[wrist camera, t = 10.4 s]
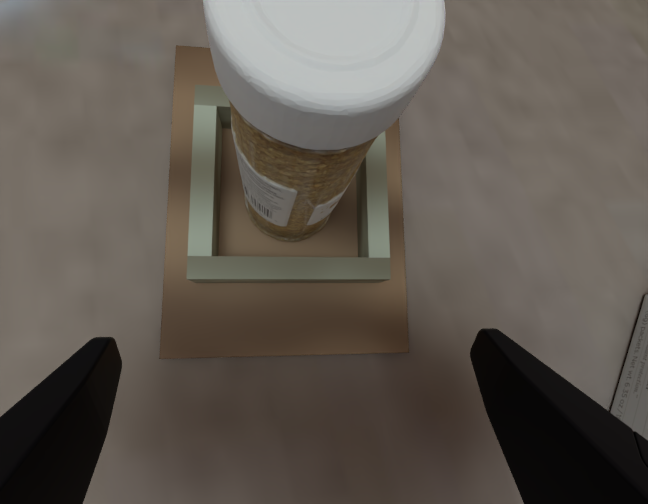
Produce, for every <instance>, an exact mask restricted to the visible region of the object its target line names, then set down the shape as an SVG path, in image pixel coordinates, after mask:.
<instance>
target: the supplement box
mask: <svg viewBox="0 0 648 504" xmlns="http://www.w3.org/2000/svg"><path fill="white" fill-rule="evenodd" d="M610 413H611V414H613V415H614V416H615V417H617V418H618V419H620V420H621V421H622V422H624V423H625V424H626V425H628V426H629V427H630V428H632V430H633V431H636V432H637V433H639V434H640V435H641V436H643V437H644V438H645V439H647V440H648V294H646V295H645V297H644V300H643V304H642V308H641V311H640V314H639V317H638V320H637V324H636V327H635V330H634V334H633V337H632V341H631V344H630V347H629V351H628V354H627V358H626V361H625V364H624V367H623V371H622V374H621V377H620V381H619V384H618V388H617V391H616V394H615V398H614V401H613V405H612V408H611V411H610Z"/></svg>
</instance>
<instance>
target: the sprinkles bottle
mask: <svg viewBox="0 0 648 504" xmlns="http://www.w3.org/2000/svg"><path fill="white" fill-rule="evenodd" d="M203 5H204V14H205V21H206V28H207V33H208V39H209V44H210V50H211V54H212V59H213V63H214V68H215V72H216V74H217V77H218V80H219V82H220V84H221V86H222V88H223V90H224V92H225V94H226V96H227V97H228V99H229V103H230V108H231V128H232V134H233V139H234V144H235V149H236V154H237V159H238V164H239V169H240V174H241V179H242V184H243V189H244V192H245V193H244V199H245V205H246V210H247V212H248V214H249V217H250V219H251V221H252V222H253V223H254V225H255V226H256V227H257V228H258V229H259V230H260V231H262V232H263V233H264V234H266V235H268V236H270V237H272V238H274V239H276V240H282V241H289V242H296V241H300V240H304V239H306V238H309V237H311V236H312V235H314V234H316V233H317V232H318V231H320V230H321V229H322V228H323V227H324V226H325V224H326V222H327V221H328V219H329V218H330V215H331V213H332V210H333V209H334V208H335V206H336V205H337V203H338V202H339V200H340V199H341V197H342V195H343V194H344V192H345V190H346V189H347V187H348V185H349V184H350V182H351V180H352V179H353V177H354V176H355V174H356V172H357V171H358V169H359V167H360V165H361V163H362V161H363V158H364V157H365V156H366V154H367V152H368V150H369V149H370V147H371V145H372V144H373V142H374V141H375V139H376V138H377V137H378V135H380V134H381V133H383V132H384V131H385V130H386V129H388V128H389V127H390V126H391V125H392V124H393V123H394V122H395V121H396V120H397V119H398V118H399V117H400V115H401V114H402V113H403V111H404V110H405V109H406V107H407V106H408V104H409V103H410V101H411V100H412V98H413V97H414V95H415V94H416V92H417V91H418V89H419V87H420V86H421V84H422V82H423V81H424V79H425V78H426V76H427V74H428V73H429V71H430V69H431V68H432V66H433V64H434V62H435V60H436V58H437V55H438V53H439V50H440V47H441V43H442V40H443V35H444V27H445V3H444V0H203Z"/></svg>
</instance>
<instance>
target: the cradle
mask: <svg viewBox="0 0 648 504" xmlns="http://www.w3.org/2000/svg"><path fill="white" fill-rule="evenodd" d="M244 193H245V192H244V189H243V184H242V179H241V174H240V169H239V164H238V159H237V154H236V149H235V144H234V139H233V134H232V128H231V108H230V103H229V99H228V97H227V96H226V94H225V92H224V90H223V88H222V86H221V84H220V82H219V80H218V77H217V74H216V72H215V68H214V63H213V59H212V54H211V50H210V48H202V47H190V46H177V45H176V56H175V75H174V94H173V113H172V132H171V151H170V170H169V189H168V207H167V226H166V245H165V264H164V283H163V302H162V321H161V340H160V358H159V359H175V358H214V357H253V356H292V355H332V354H371V353H409V341H408V318H407V295H406V272H405V249H404V226H403V203H402V180H401V157H400V134H399V118H398V119H397V120H396V121H395V122H394V123H393V124H392V125H391V126H390V127H389V128H388V129H386V130H385V131H384V132H383V133H381V134H380V135H378V137H377V138H376V139H375V141H374V142H373V144H372V145H371V147H370V149H369V150H368V152H367V154H366V156H365V157H364V158H363V161H362V163H361V165H360V167H359V169H358V171H357V172H356V174H355V176H354V177H353V179H352V180H351V182H350V184H349V185H348V187H347V189H346V190H345V192H344V194H343V195H342V197H341V199H340V200H339V202H338V203H337V205H336V206H335V208H334V209H333V210H332V213H331V215H330V218H329V219H328V221H327V222H326V224H325V226H324V227H323V228H322V229H321V230H320V231H318V232H317V233H316V234H314V235H312V236H311V237H309V238H306V239H304V240H300V241H296V242H289V241H282V240H276V239H274V238H272V237H270V236H268V235H266V234H264V233H263V232H262V231H260V230H259V229H258V228H257V227H256V226H255V225H254V223H253V222H252V221H251V219H250V217H249V214H248V212H247V210H246V205H245V199H244Z"/></svg>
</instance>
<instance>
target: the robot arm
mask: <svg viewBox="0 0 648 504" xmlns="http://www.w3.org/2000/svg"><path fill="white" fill-rule="evenodd" d="M470 357H471V361H472V365H473V368H474V371H475V375H476V378H477V382H478V385H479V388H480V392H481V395H482V399H483V402H484V405H485V408H486V411H487V414H488V417H489V419H490V422H491V424H492V427H493V429H494V432H495V434H496V437H497V439H498V441H499V444H500V446H501V449H502V451H503V454H504V456H505V458H506V461H507V463H508V466H509V468H510V471H511V473H512V475H513V478H514V480H515V483H516V485H517V488H518V490H519V492H520V495H521V497H522V500H523V502H524V504H648V440H647V439H645V438H644V437H643V436H641V435H640V434H639V433H637V432H636V431H633V430H632V428H630V427H629V426H628V425H626V424H625V423H624V422H622V421H621V420H620V419H618V418H617V417H615V416H614V415H613V414H611V413H610V412H609V411H607V410H606V409H605V408H603V407H602V406H601V405H599V404H598V403H597V402H595V401H594V400H592V399H591V398H590V397H588V396H587V395H586V394H584V393H583V392H582V391H580V390H579V389H578V388H576V387H575V386H574V385H572V384H571V383H570V382H568V381H567V380H565V379H564V378H563V377H561V376H560V375H559V374H557V373H556V372H555V371H553V370H552V369H551V368H549V367H548V366H547V365H545V364H544V363H542V362H541V361H540V360H538V359H537V358H536V357H534V356H533V355H532V354H530V353H529V352H528V351H526V350H525V349H524V348H522V347H521V346H520V345H518V344H517V343H515V342H514V341H513V340H511V339H510V338H509V337H507V336H506V335H505V334H503V333H502V332H501V331H499V330H497V329H494V328H492V329H481V330H480V331H479V332H478V334H477V336H476V338H475V341H474V343H473V345H472V348H471V351H470ZM121 369H122V360H121V357H120V354H119V351H118V348H117V345H116V342H115V339H114V338H112V337H96V338H93V339H91V340H90V341H89V342H87V343H86V344H85V345H84V346H83V347H82V348H80V349H79V350H78V351H77V352H76V353H75V354H73V355H72V356H71V357H70V358H69V359H68V360H66V361H65V362H64V363H63V364H62V365H61V366H59V367H58V368H57V369H56V370H55V371H54V372H52V373H51V374H50V375H49V376H48V377H47V378H45V379H44V380H43V381H42V382H41V383H40V384H38V385H37V386H36V387H35V388H34V389H33V390H31V391H30V392H29V393H28V394H27V395H26V396H24V397H23V398H22V399H21V400H20V401H18V402H17V403H16V404H15V405H14V406H13V407H11V408H10V409H9V410H8V411H7V412H6V413H4V414H3V415H2V416H1V417H0V504H83V501H84V498H85V496H86V493H87V490H88V487H89V484H90V481H91V478H92V475H93V473H94V470H95V467H96V464H97V461H98V458H99V455H100V453H101V450H102V447H103V444H104V441H105V438H106V435H107V431H108V427H109V423H110V418H111V414H112V410H113V405H114V401H115V396H116V392H117V387H118V383H119V379H120V374H121Z"/></svg>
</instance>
